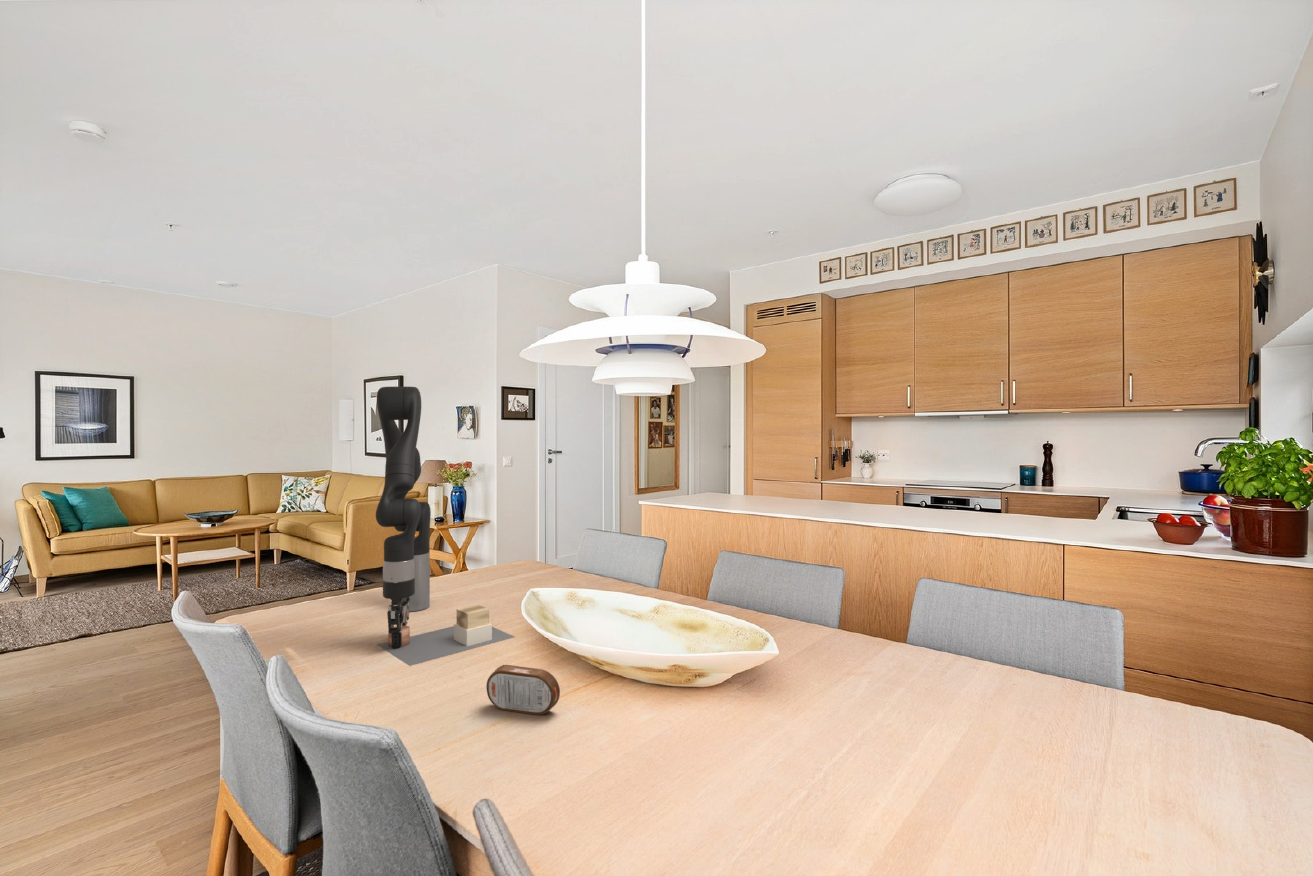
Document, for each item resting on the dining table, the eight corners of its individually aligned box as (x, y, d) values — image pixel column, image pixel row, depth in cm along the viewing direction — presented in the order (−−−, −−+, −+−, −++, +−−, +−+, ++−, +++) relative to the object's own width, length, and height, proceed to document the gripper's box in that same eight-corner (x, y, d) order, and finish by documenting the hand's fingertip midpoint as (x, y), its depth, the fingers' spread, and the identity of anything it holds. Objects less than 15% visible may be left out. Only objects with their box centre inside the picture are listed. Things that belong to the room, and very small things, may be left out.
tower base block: (453, 639, 156) (453, 624, 156) (478, 633, 161) (478, 618, 161) (466, 646, 151) (466, 630, 151) (491, 639, 156) (491, 624, 156)
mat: (376, 648, 152) (376, 644, 152) (477, 623, 172) (477, 620, 172) (409, 670, 138) (409, 665, 138) (515, 640, 158) (515, 636, 158)
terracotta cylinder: (385, 644, 153) (385, 628, 152) (404, 639, 156) (404, 624, 156) (393, 649, 149) (393, 633, 149) (413, 644, 153) (413, 628, 153)
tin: (560, 712, 118) (560, 669, 118) (553, 719, 114) (553, 675, 114) (492, 703, 122) (492, 661, 122) (483, 709, 119) (483, 667, 119)
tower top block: (456, 624, 156) (456, 609, 156) (477, 619, 160) (477, 604, 160) (467, 629, 152) (467, 613, 152) (489, 624, 156) (489, 609, 156)
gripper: (390, 571, 159) (390, 635, 159) (375, 584, 145) (375, 655, 145) (420, 570, 160) (420, 634, 160) (408, 583, 146) (408, 653, 146)
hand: (399, 643), depth 153 cm, fingers closed on terracotta cylinder, 5 cm apart
